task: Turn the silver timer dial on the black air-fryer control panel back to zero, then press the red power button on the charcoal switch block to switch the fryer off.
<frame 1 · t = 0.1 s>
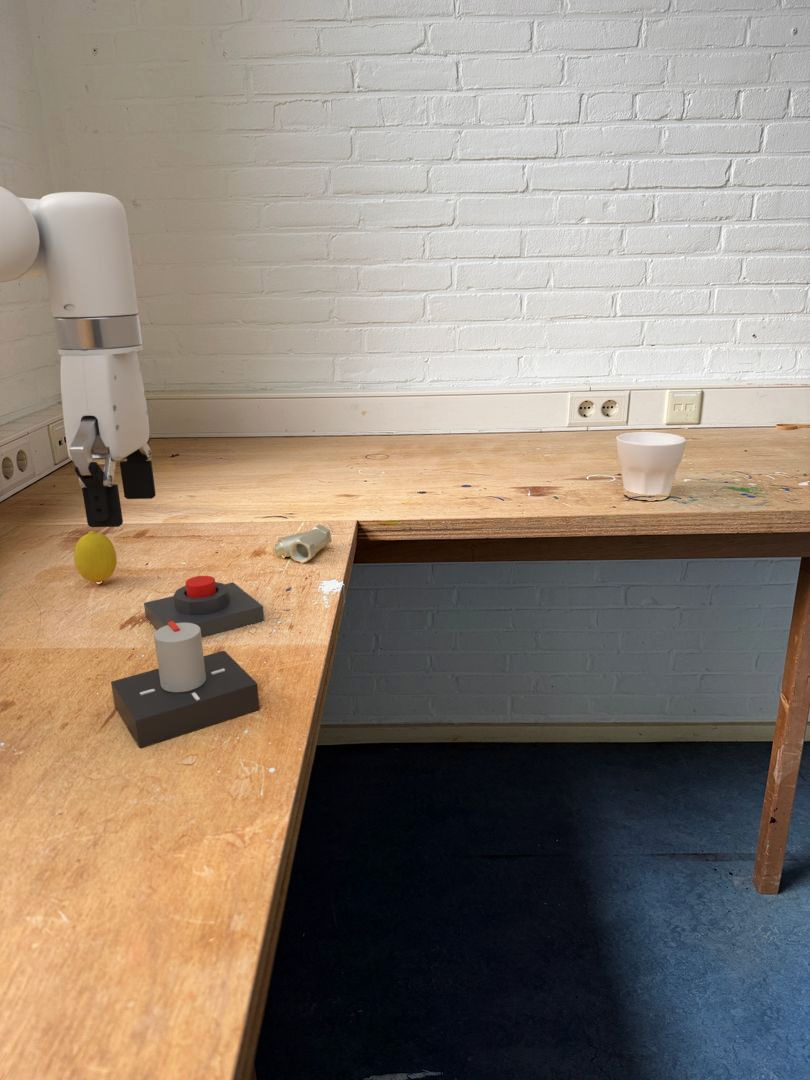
hand: (124, 511, 80), 19 cm above the table, tool pointing down, fingers open, 9 cm apart
power button: (200, 587, 100), point 5 cm above the table, slide at 0.2 cm
timer dial: (180, 655, 79), point 6 cm above the table, hinge at 90.0°
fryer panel: (186, 708, 81), on the table
cup: (646, 496, 151), on the table
pipe fitting: (301, 556, 124), on the table
switch block: (204, 620, 101), on the table
lemon: (99, 585, 114), on the table
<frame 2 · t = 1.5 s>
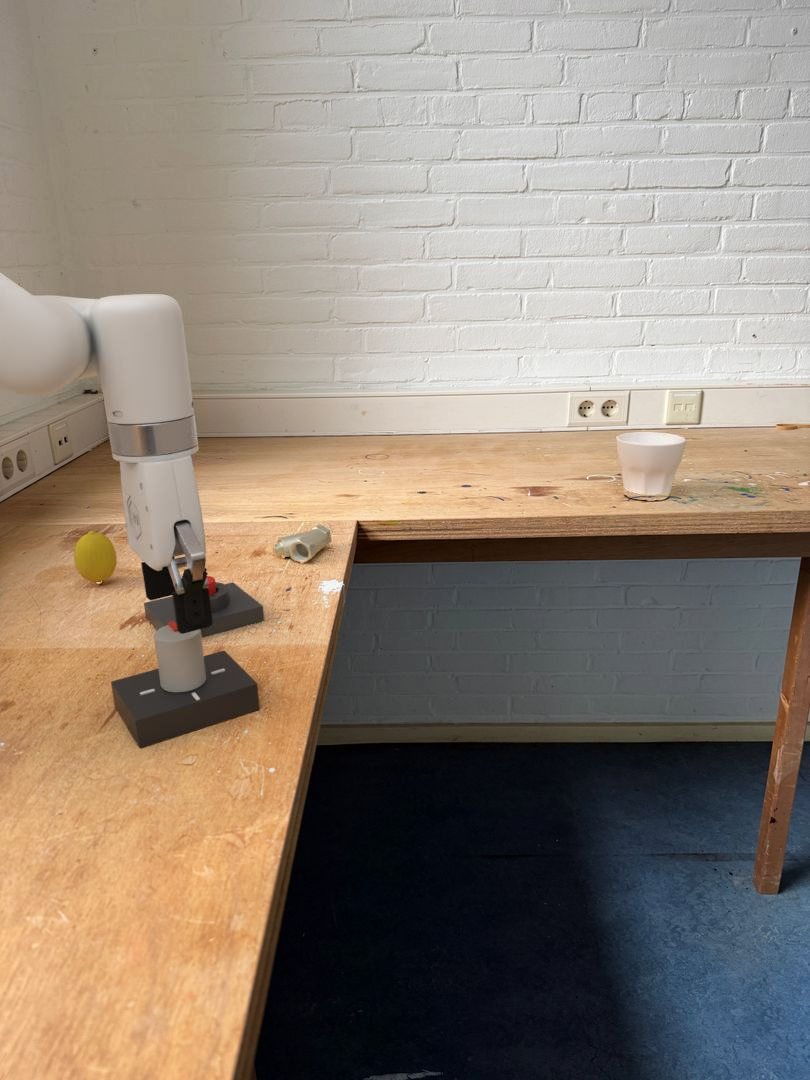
hand: (178, 611, 77), 11 cm above the table, tool pointing down, fingers open, 9 cm apart
nothing on the table moved.
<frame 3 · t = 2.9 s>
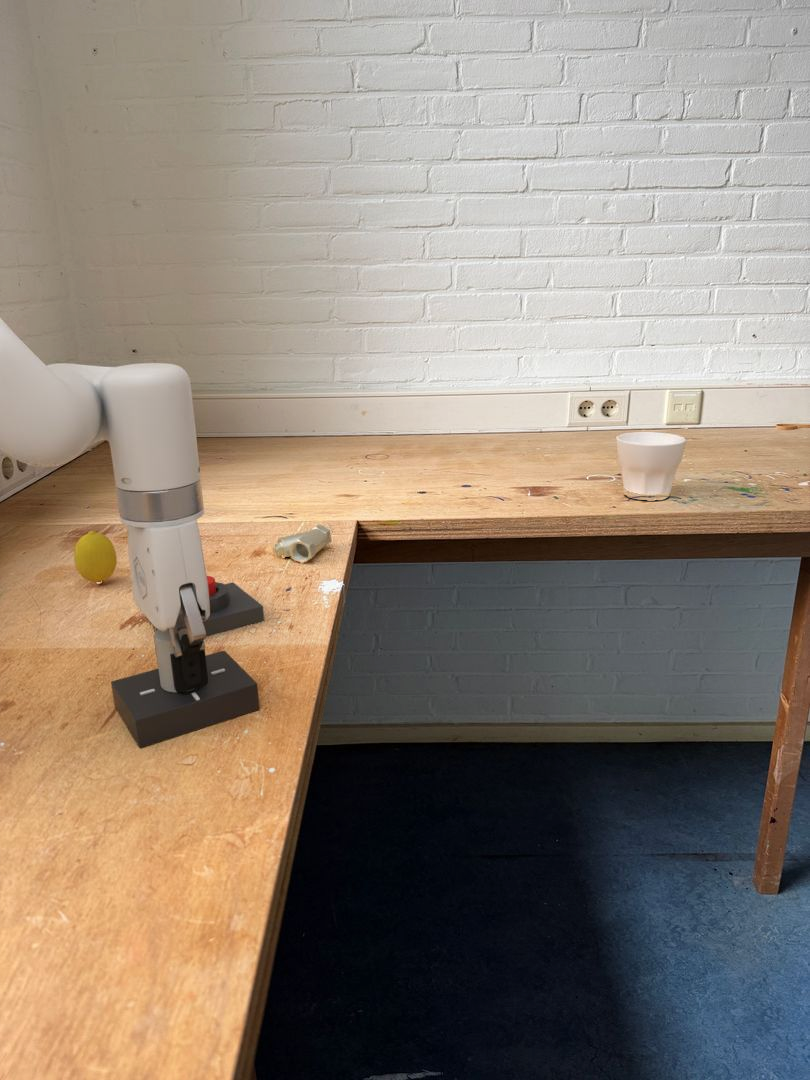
hand: (182, 675, 79), 4 cm above the table, tool pointing down, fingers closed on timer dial, 4 cm apart
timer dial: (180, 655, 79), point 6 cm above the table, hinge at 89.9°, touching gripper
everything else where it was.
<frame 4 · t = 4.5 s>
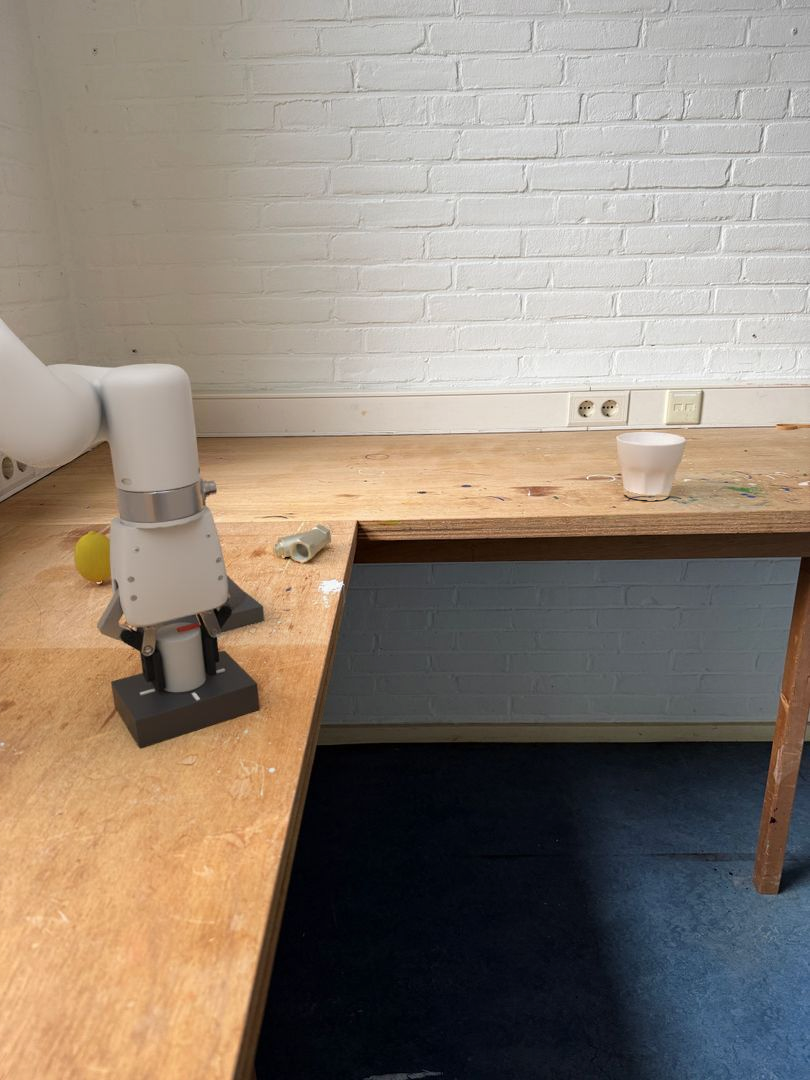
hand: (182, 676, 79), 4 cm above the table, tool pointing down, fingers open, 4 cm apart
timer dial: (180, 655, 79), point 6 cm above the table, hinge at 0.5°
everything else where it was.
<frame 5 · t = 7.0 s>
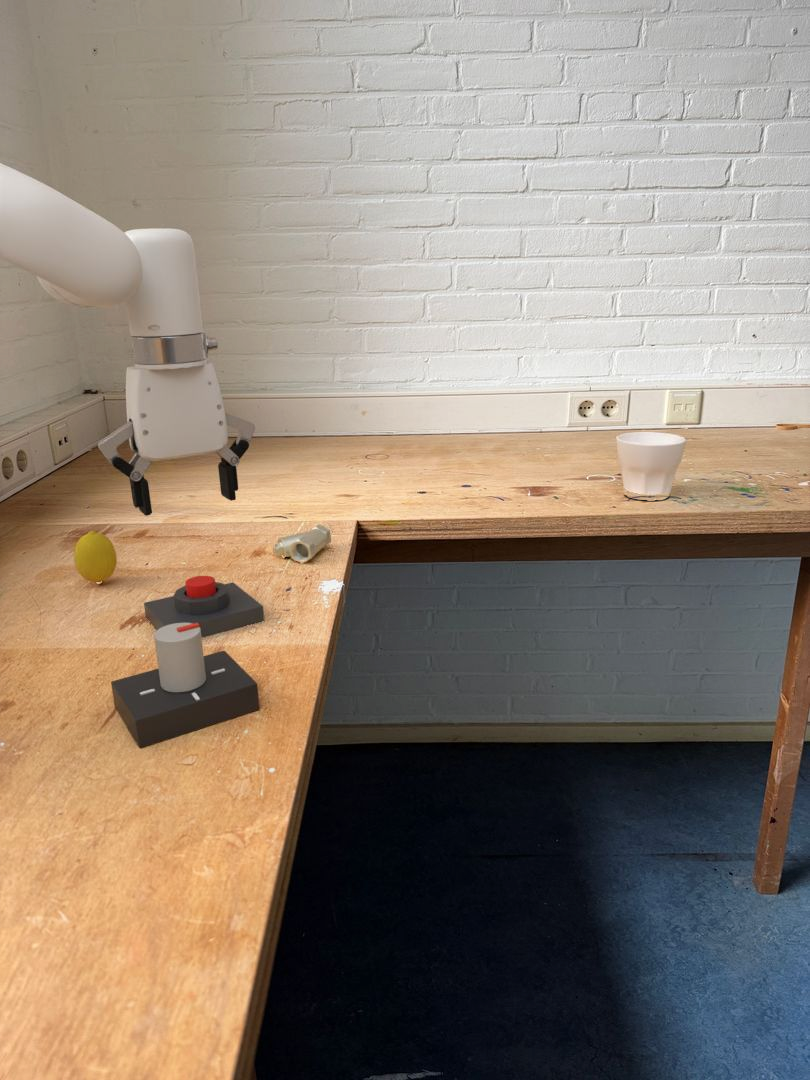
hand: (188, 505, 91), 17 cm above the table, tool pointing down, fingers open, 9 cm apart
nothing on the table moved.
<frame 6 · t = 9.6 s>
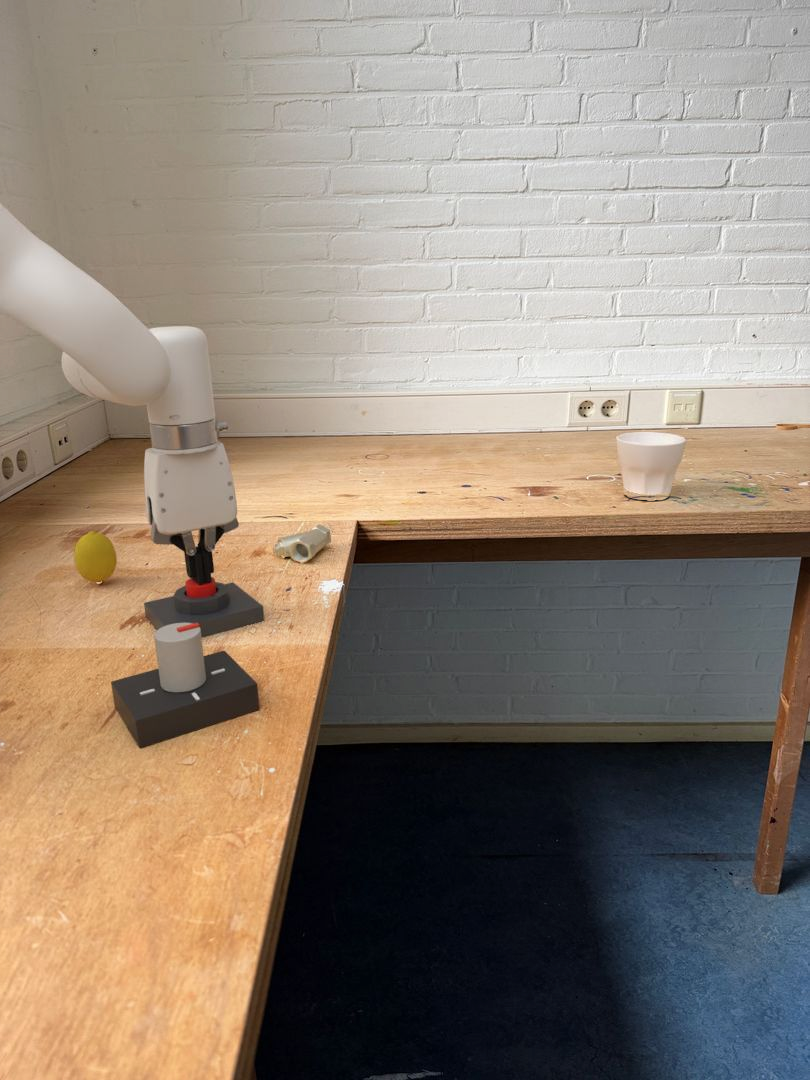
hand: (201, 580, 100), 5 cm above the table, tool pointing down, fingers closed
power button: (200, 587, 100), point 4 cm above the table, slide at 0.1 cm, touching gripper
everything else where it was.
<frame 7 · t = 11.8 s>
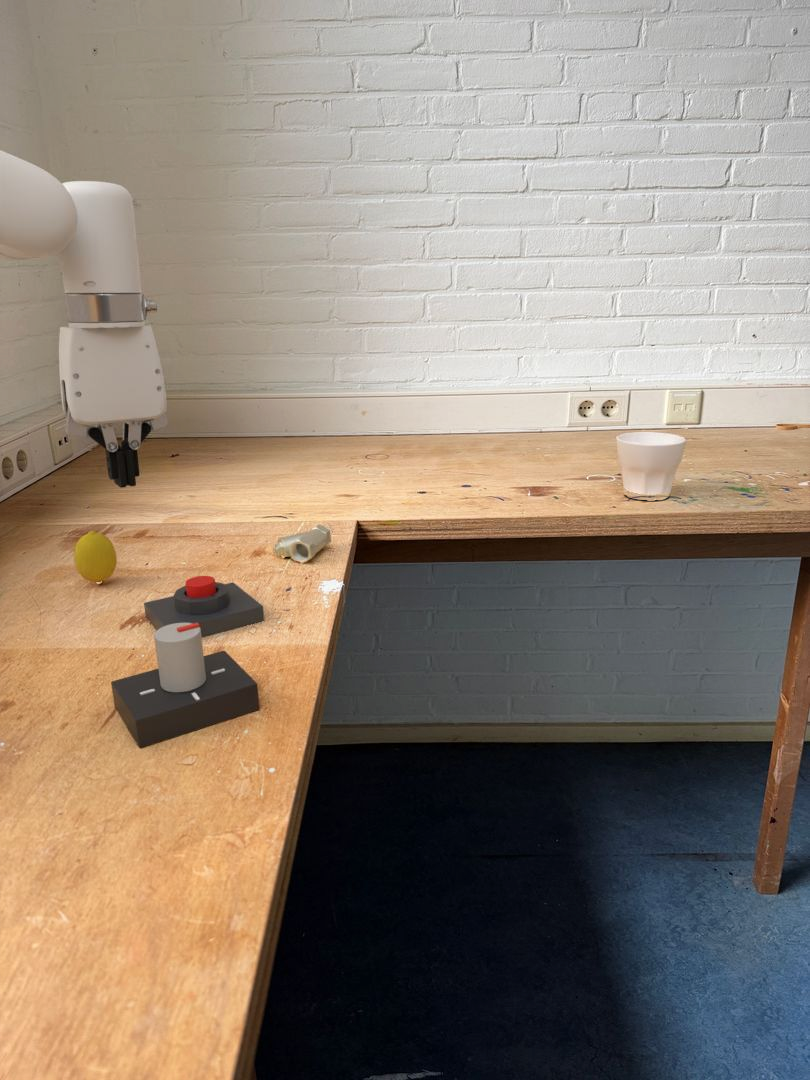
hand: (125, 484, 88), 20 cm above the table, tool pointing down, fingers closed
power button: (200, 587, 100), point 5 cm above the table, slide at 0.1 cm
everything else where it was.
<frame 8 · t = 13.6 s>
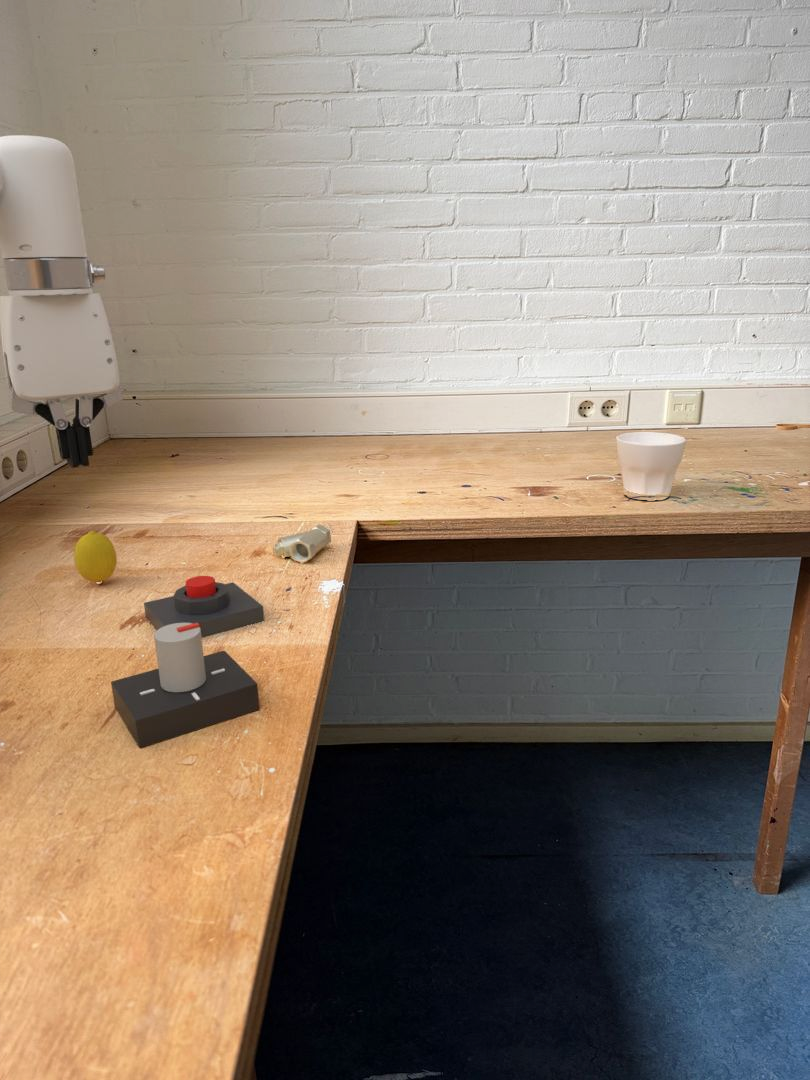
hand: (78, 464, 83), 23 cm above the table, tool pointing down, fingers closed
nothing on the table moved.
at the end: timer dial at +1° (first picture: +90°); power button pushed in 1.1 cm at the most during the clip, back to where it started at the end; power button slide at 0.1 cm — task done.
